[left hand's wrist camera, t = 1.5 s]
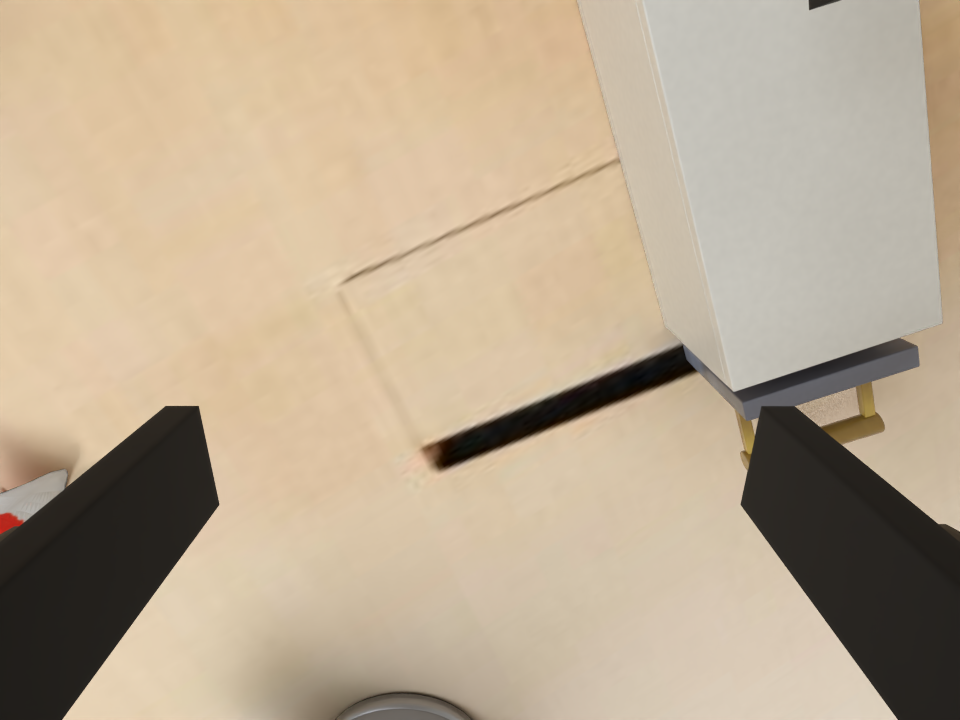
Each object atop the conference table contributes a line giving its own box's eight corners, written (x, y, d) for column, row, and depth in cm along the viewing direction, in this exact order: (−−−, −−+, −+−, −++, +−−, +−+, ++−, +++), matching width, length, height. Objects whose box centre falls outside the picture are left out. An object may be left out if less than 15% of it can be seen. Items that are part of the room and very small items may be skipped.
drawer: (829, 388, 38) (929, 457, 29) (704, 429, 39) (765, 505, 30) (764, -19, 29) (878, -86, 21) (605, 48, 30) (652, 10, 22)
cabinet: (813, 274, 36) (944, 323, 26) (664, 326, 37) (733, 392, 27) (754, -95, 28) (903, -227, 18) (572, -15, 30) (619, -96, 20)
